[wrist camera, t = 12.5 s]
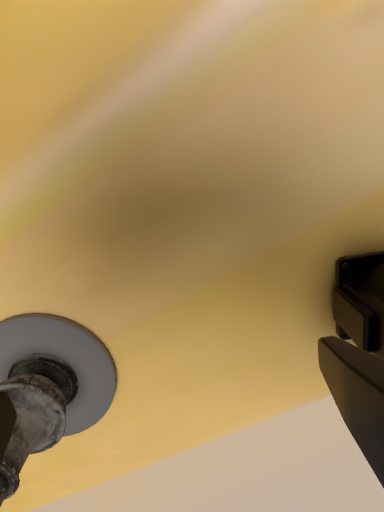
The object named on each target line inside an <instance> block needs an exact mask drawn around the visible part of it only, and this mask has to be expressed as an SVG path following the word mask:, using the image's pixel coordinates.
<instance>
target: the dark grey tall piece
mask: <svg viewBox="0 0 384 512" xmlns="http://www.w3.org/2000/svg"><path fill="white" fill-rule="evenodd" d="M78 388H79V383H78V378H77V375H76V373H75V371H74V370H73V369H72V367H71V366H70V365H69V364H68V363H66V362H65V361H64V360H62V359H60V358H58V357H56V356H54V355H50V354H45V353H33V354H28V355H25V356H23V357H21V358H19V359H18V360H17V361H16V362H15V363H14V364H13V365H12V366H11V368H10V370H9V372H8V378H7V380H5V381H3V382H1V383H0V391H2V390H3V391H6V392H7V393H8V394H9V396H10V398H11V401H12V403H13V405H14V407H15V409H16V412H17V421H16V424H15V427H14V430H13V433H12V436H11V439H10V441H9V444H8V447H7V450H6V453H5V456H4V459H3V462H2V465H1V468H0V506H1V504H2V502H3V500H5V499H8V498H10V497H11V496H12V495H13V494H15V492H16V490H17V489H18V487H19V482H20V480H19V473H20V471H21V469H22V467H23V465H24V463H25V461H26V459H27V457H28V455H29V454H34V453H39V452H43V451H45V450H47V449H49V448H52V447H53V446H54V445H55V444H57V443H58V442H59V441H60V439H61V438H62V436H63V435H64V433H65V428H66V406H67V405H68V404H70V403H71V402H72V401H73V400H74V398H75V396H76V395H77V392H78Z"/></svg>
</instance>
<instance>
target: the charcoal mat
mask: <svg viewBox="0 0 384 512" xmlns="http://www.w3.org/2000/svg"><path fill="white" fill-rule="evenodd" d="M33 353H45V354H50V355H54V356H56V357H58V358H60V359H62V360H64V361H65V362H66V363H68V364H69V365H70V366H71V367H72V369H73V370H74V371H75V373H76V375H77V378H78V383H79V388H78V392H77V395H76V396H75V398H74V400H73V401H72V402H71V403H70V404H68V405H67V406H66V428H65V433H64V435H63V436H62V437H64V436H69V435H73V434H76V433H79V432H82V431H84V430H86V429H88V428H90V427H91V426H93V425H94V424H95V423H97V422H98V421H99V420H100V419H101V418H102V417H103V416H104V415H105V413H106V412H107V410H108V409H109V407H110V405H111V403H112V400H113V396H114V393H115V389H116V383H117V373H116V368H115V364H114V362H113V359H112V357H111V355H110V353H109V351H108V350H107V348H106V347H105V345H104V344H103V343H102V342H101V341H100V340H99V339H98V338H97V337H96V336H95V335H94V334H93V333H92V332H90V331H89V330H88V329H86V328H85V327H83V326H81V325H79V324H77V323H75V322H73V321H71V320H68V319H66V318H63V317H59V316H55V315H49V314H35V313H33V314H23V315H19V316H14V317H11V318H9V319H6V320H4V321H2V322H0V383H1V382H3V381H5V380H7V378H8V372H9V370H10V368H11V366H12V365H13V364H14V363H15V362H16V361H17V360H18V359H19V358H21V357H23V356H25V355H28V354H33Z"/></svg>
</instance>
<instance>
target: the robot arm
mask: <svg viewBox="0 0 384 512" xmlns="http://www.w3.org/2000/svg"><path fill="white" fill-rule="evenodd" d="M346 262H347V265H346V266H345V267H342V266H343V264H344V263H346ZM334 320H335V321H336V322H337V335H338V336H339V337H340V338H341V339H343V340H341V339H339V338H337V337H335V336H328V337H322V338H320V339H319V340H318V357H319V366H320V370H321V372H322V374H323V376H324V379H325V381H326V383H327V385H328V387H329V389H330V392H331V394H332V396H333V398H334V400H335V403H336V405H337V406H338V409H339V411H340V413H341V415H342V417H343V420H344V422H345V424H346V425H347V427H348V429H349V431H350V432H351V434H352V436H353V437H354V439H355V441H356V443H357V444H358V446H359V448H360V449H361V451H362V452H363V454H364V456H365V458H366V459H367V461H368V463H369V464H370V466H371V468H372V469H373V471H374V473H375V474H376V476H377V478H378V480H379V481H380V483H381V485H382V486H383V488H384V251H381V252H374V253H368V254H361V255H354V256H348V257H342V258H340V259H339V260H338V261H337V263H336V287H335V289H334ZM343 332H346V333H345V334H343ZM348 339H352V340H353V341H354V342H355V344H356V345H357V346H358V347H356V346H354V345H352V344H350V343H348V342H346V341H344V340H348ZM371 353H372V354H371ZM16 421H17V412H16V409H15V407H14V405H13V403H12V401H11V398H10V396H9V394H8V393H7V392H6V391H3V390H2V391H0V468H1V465H2V462H3V459H4V456H5V453H6V450H7V447H8V444H9V441H10V439H11V436H12V433H13V430H14V427H15V424H16Z"/></svg>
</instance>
